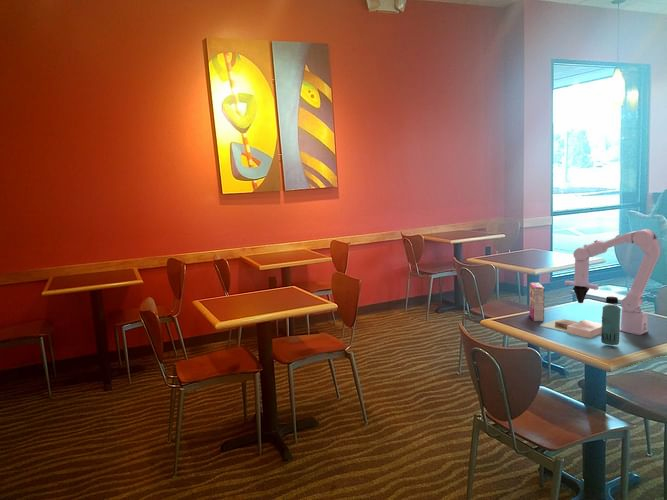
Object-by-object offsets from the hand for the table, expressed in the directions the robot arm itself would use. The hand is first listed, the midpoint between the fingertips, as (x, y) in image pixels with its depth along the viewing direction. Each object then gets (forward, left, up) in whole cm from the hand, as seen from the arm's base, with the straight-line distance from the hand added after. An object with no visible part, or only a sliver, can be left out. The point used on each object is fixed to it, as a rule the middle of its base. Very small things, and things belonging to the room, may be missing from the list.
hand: (580, 302), depth 223 cm
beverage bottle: (-24, +22, -10) cm, 34 cm away
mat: (+3, +11, -9) cm, 15 cm away
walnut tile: (0, +11, -9) cm, 14 cm away
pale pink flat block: (-9, +11, -9) cm, 17 cm away
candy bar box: (+17, +8, -10) cm, 21 cm away
